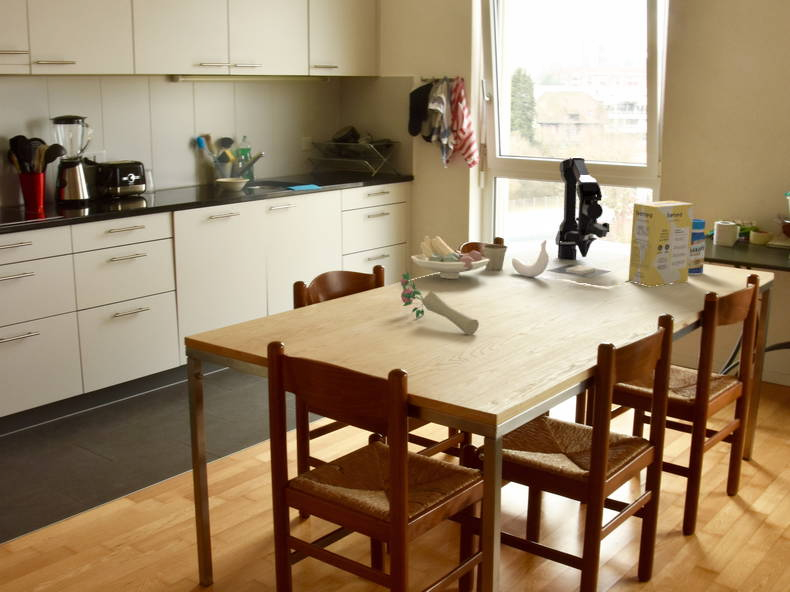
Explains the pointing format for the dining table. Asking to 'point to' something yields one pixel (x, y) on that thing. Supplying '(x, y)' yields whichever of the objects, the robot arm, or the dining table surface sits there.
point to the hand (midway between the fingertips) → (584, 256)
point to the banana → (534, 268)
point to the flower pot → (495, 256)
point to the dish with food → (447, 259)
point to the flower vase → (437, 307)
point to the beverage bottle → (697, 248)
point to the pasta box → (661, 242)
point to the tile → (580, 269)
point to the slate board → (587, 275)
